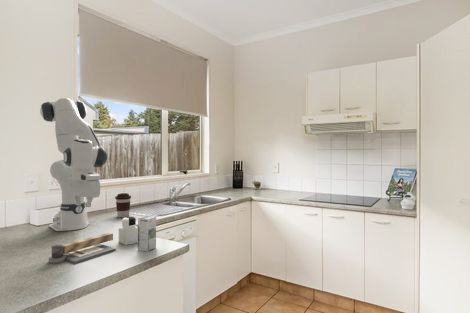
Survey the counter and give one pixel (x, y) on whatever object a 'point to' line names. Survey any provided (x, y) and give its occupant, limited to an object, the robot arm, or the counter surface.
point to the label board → (83, 254)
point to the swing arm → (80, 244)
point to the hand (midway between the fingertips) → (83, 206)
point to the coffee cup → (123, 204)
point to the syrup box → (146, 233)
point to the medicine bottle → (128, 231)
